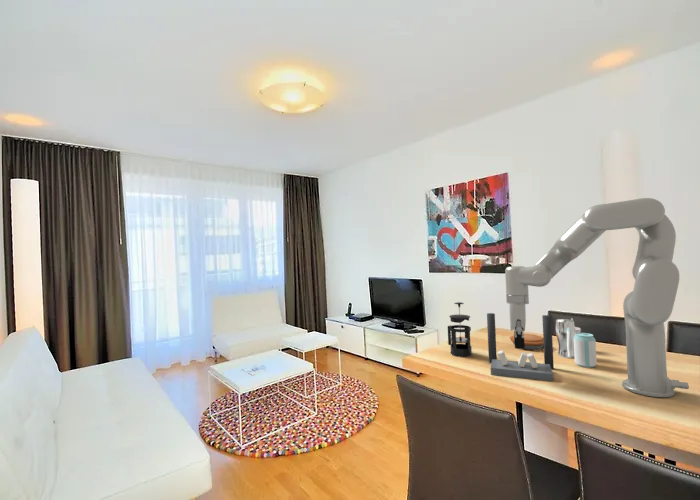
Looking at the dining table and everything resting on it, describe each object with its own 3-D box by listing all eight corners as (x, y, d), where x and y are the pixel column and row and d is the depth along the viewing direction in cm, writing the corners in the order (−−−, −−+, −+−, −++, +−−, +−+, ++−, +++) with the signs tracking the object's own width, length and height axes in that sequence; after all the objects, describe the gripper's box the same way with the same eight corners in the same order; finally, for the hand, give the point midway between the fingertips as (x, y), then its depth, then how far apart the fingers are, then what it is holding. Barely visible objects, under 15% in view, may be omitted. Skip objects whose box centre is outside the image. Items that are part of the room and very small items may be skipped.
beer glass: (579, 358, 141) (577, 322, 141) (560, 358, 142) (559, 322, 143) (571, 353, 148) (570, 318, 148) (554, 353, 149) (552, 318, 149)
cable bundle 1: (497, 361, 141) (494, 313, 141) (496, 364, 138) (494, 314, 138) (489, 361, 142) (487, 313, 142) (488, 363, 139) (486, 314, 140)
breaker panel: (550, 370, 128) (549, 364, 128) (553, 381, 118) (552, 374, 118) (492, 365, 137) (492, 359, 137) (490, 374, 127) (490, 367, 127)
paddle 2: (537, 363, 127) (532, 352, 128) (537, 367, 123) (532, 355, 124) (532, 365, 128) (527, 353, 128) (532, 368, 124) (527, 356, 125)
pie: (507, 348, 159) (506, 338, 159) (513, 341, 172) (512, 331, 172) (545, 353, 150) (544, 341, 150) (548, 344, 163) (548, 334, 163)
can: (573, 361, 138) (572, 331, 138) (594, 363, 135) (593, 332, 135) (576, 367, 132) (574, 335, 132) (598, 369, 128) (597, 337, 129)
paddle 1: (507, 361, 131) (502, 350, 132) (507, 364, 128) (502, 352, 128) (502, 362, 132) (498, 351, 133) (502, 365, 128) (497, 354, 129)
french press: (478, 354, 152) (475, 302, 152) (464, 358, 147) (462, 305, 147) (456, 348, 162) (454, 300, 162) (443, 352, 156) (440, 302, 157)
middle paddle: (523, 364, 129) (527, 353, 128) (523, 367, 125) (527, 356, 125) (518, 362, 130) (522, 351, 129) (518, 365, 126) (522, 354, 126)
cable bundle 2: (553, 367, 132) (550, 315, 132) (554, 369, 129) (551, 316, 130) (544, 366, 133) (542, 315, 134) (545, 368, 131) (542, 316, 131)
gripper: (506, 296, 137) (508, 338, 137) (506, 302, 122) (508, 350, 122) (527, 296, 134) (529, 340, 134) (529, 302, 119) (532, 352, 118)
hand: (519, 345), depth 128 cm, fingers open, 9 cm apart
